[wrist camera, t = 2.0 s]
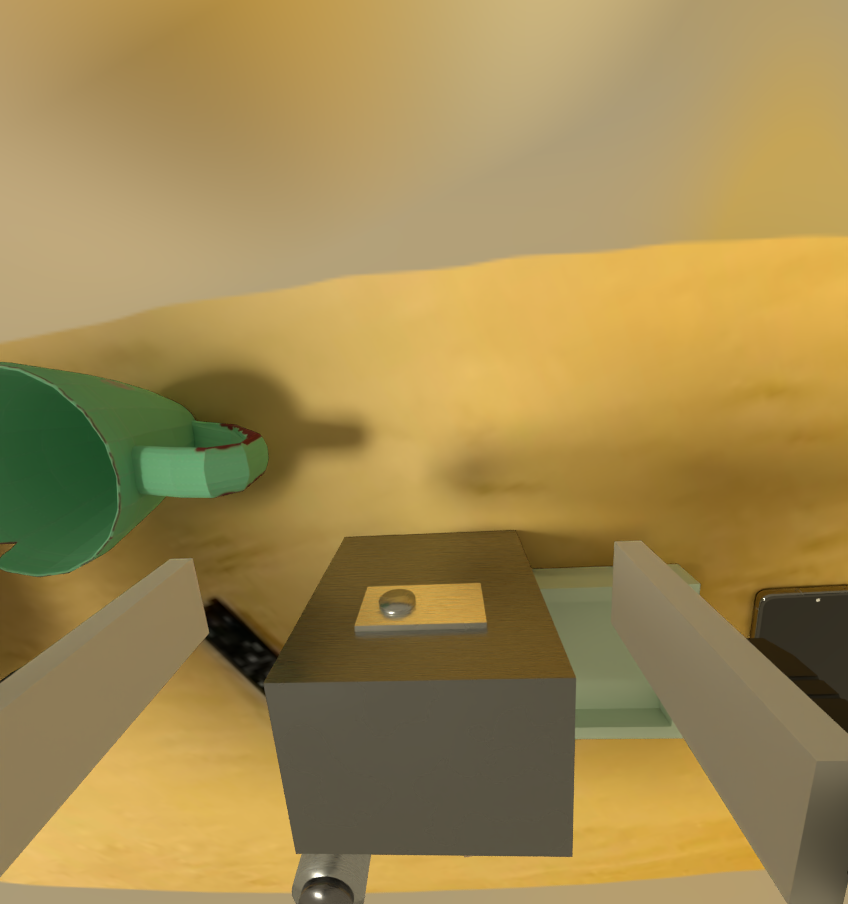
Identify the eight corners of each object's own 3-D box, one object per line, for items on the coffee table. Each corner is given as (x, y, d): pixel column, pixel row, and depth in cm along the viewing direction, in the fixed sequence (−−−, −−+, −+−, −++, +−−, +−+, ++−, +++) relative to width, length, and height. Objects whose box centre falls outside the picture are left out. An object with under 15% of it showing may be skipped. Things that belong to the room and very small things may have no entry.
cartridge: (336, 772, 33) (293, 934, 24) (329, 729, 32) (282, 881, 23) (388, 772, 33) (365, 935, 24) (383, 729, 32) (358, 882, 23)
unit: (358, 649, 30) (296, 858, 18) (343, 530, 28) (261, 671, 15) (517, 646, 30) (572, 861, 17) (515, 522, 27) (576, 665, 15)
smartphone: (737, 776, 31) (762, 595, 27) (727, 762, 32) (750, 585, 28) (838, 774, 30) (878, 589, 26) (825, 760, 31) (862, 580, 27)
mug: (111, 501, 28) (-61, 575, 19) (83, 360, 26) (-130, 363, 17) (312, 503, 28) (241, 581, 18) (301, 358, 25) (212, 359, 16)
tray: (505, 709, 31) (511, 739, 28) (502, 569, 28) (507, 590, 26) (665, 707, 30) (685, 738, 28) (677, 563, 27) (700, 583, 25)
